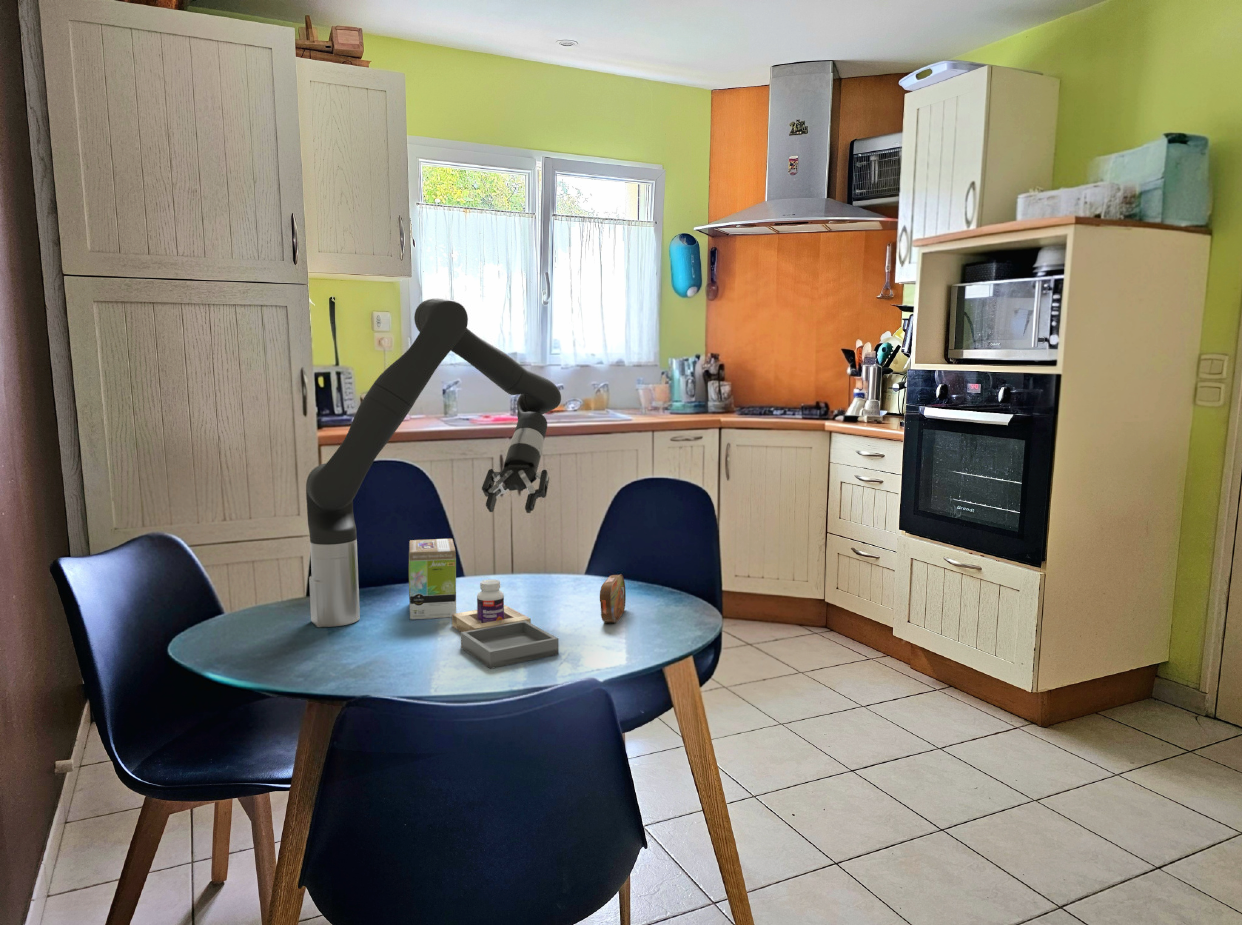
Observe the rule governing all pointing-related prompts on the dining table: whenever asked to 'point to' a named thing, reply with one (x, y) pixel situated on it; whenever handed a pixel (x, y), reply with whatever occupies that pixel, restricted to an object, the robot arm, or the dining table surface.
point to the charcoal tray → (509, 644)
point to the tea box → (432, 578)
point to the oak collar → (469, 622)
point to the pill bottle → (490, 602)
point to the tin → (612, 598)
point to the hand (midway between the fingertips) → (508, 510)
